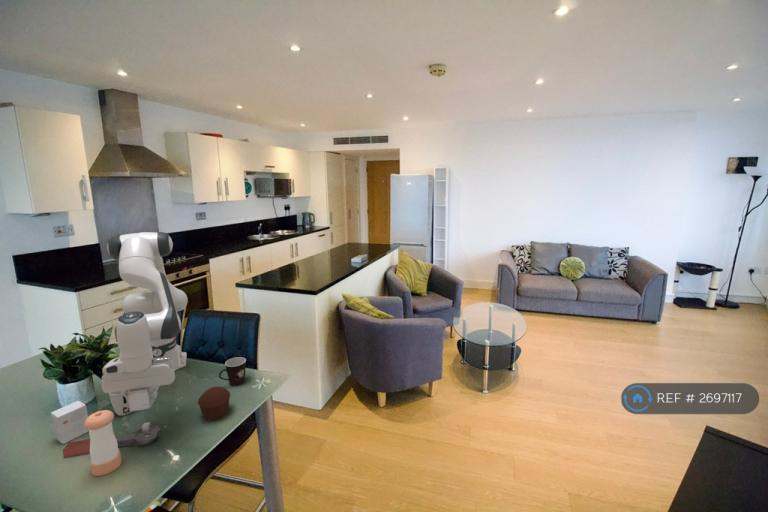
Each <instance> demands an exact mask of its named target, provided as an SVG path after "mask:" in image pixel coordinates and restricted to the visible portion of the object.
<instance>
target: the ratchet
mask: <svg viewBox="0 0 768 512" xmlns="http://www.w3.org/2000/svg"><path fill="white" fill-rule="evenodd" d="M115 438H116V440H117V443H118V447H119V448H123V446H124V447H129V446H128V445H130V446H135V445H136V447H138V448H139V447H140V448H144V447H148V446H151V445H154V444H155V443H157V441H159V439H161V432H160V427H159V425H157V424H156V425H155V424H151V421H148V422H144V423H143V424H142V426H141V428H140V429H139V430H137V431H136V432H134V433H133V432H132V433H128V434H121V435H115ZM62 453H63V458H64V459H65V458H71V457H75V456H81V455H88V454H90V438H89V439H82V440H74V441H71V442H70V441H69V442H67V444H66V446H65V447H64V448H63V449H62Z"/></svg>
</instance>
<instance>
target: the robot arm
mask: <svg viewBox="0 0 768 512" xmlns="http://www.w3.org/2000/svg"><path fill="white" fill-rule="evenodd" d="M106 245H107V246H106V249H107V252H108V254H109V256H110V257H111V258H112V259H113V260H115V261H118V274H119V276H120V279H121V280H122V281H124V283H126V284H128V285H129V286H132V287H136V288H142V289H148V290H150V291H141V292H135V293H132V294H127V295H126V296H125V297H124V298H123V300H122V303H121V309H122V311H123V312H124V313H123V314H121V315H119V317H118V318H117V320H116V326H115V328H114V337H115V341H116V343H117V344H116V345H117V346H118V348H119V355H118V356H117V357H115V358H113V359H111V360H109V361H108V362H107V363H106V364H105V365H104V366H103V367H102V373H103V375H102V376H101V390H102V392H103V393H105V394H109V393H111V392H118V391H121V394H122V395H123V396H124V397H125V398H126V401H127V402H129V400H128V393H127V392H128V390H133V389H140V388H148V387H153V389H154V391H152V393H151V394H150V395H151V398H155V399H156V398H157V397H158V390H159V388H160V387H162V386H167V385H168V386H169V385H171V384H172V383H173V382H174V381H175V379H176V371H177V370H179V369H181V368H184V367H186V366H187V356H188V354H187V352H185V351H182V347H181V345H179V344H177V340H176V339H177V335H178V334H179V333H180V332H181V329H182V321H181V318H180V316H179V314H178V312H180V311H183V310H184V309H186V307H187V305H188V303H189V301H188V296H187V294H186V292H185V291H183V290H182V289H179V288H177V287H175V286H174V285H173V284H172V283H171V282H170V281H169V279H168V277H167V274H166V270H165V266H164V259H163V257H167V256H169V255H170V254H171V253H172V251H173V246H174V242H173V241H172V237H171V236H170V234H169V233H167V232H164V231H163V232H162V231H158V232H154V231H153V232H152V231H150V232H149V231H145V232H144V231H142V232H135V233H126V234H116V235H112V236H111V237H110V238H109V239H108V242H107V244H106Z"/></svg>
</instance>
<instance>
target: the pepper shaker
mask: <svg viewBox="0 0 768 512" xmlns="http://www.w3.org/2000/svg"><path fill="white" fill-rule="evenodd" d="M114 418H115V415H114V412H112V411H111V410H108V409H104V410H97V411H96V412H94V413H93V412H92V413H91V414H90V415H88V417H87V419H86V420H85V422H84V427H85V428H86V429H88V430H89V431H88V434H89V439H90V453H89V455H90V462H89V463H90V469H91V474H92V475H93V476H96V477H100V476H104V475H107V474H110V473H112V472H113V471H115V470H117V469H118V468H119V467H120V466H121V464H122V462H123V461H122V455H121V451H120V449H119V448H118V443H117V440H116V438H115V436H116V435H115V433H114V428H113V420H114Z"/></svg>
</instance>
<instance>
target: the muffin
mask: <svg viewBox="0 0 768 512" xmlns="http://www.w3.org/2000/svg"><path fill="white" fill-rule="evenodd" d="M230 398H231V392H230V391H229V390H228V389H227V388H226V387H223V386H218V385H217V386H212V387H210V388H208V389H207V390H205V391H204V392H203V393H202V394H201V396H200V397H199V399H198V400H197V405H198V406H199V409H200V412H201V415H202V418H203V419H205V421H216V420H219V419H222V418H224V416H225V415H227V414H228V410H229V405H230Z"/></svg>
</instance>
